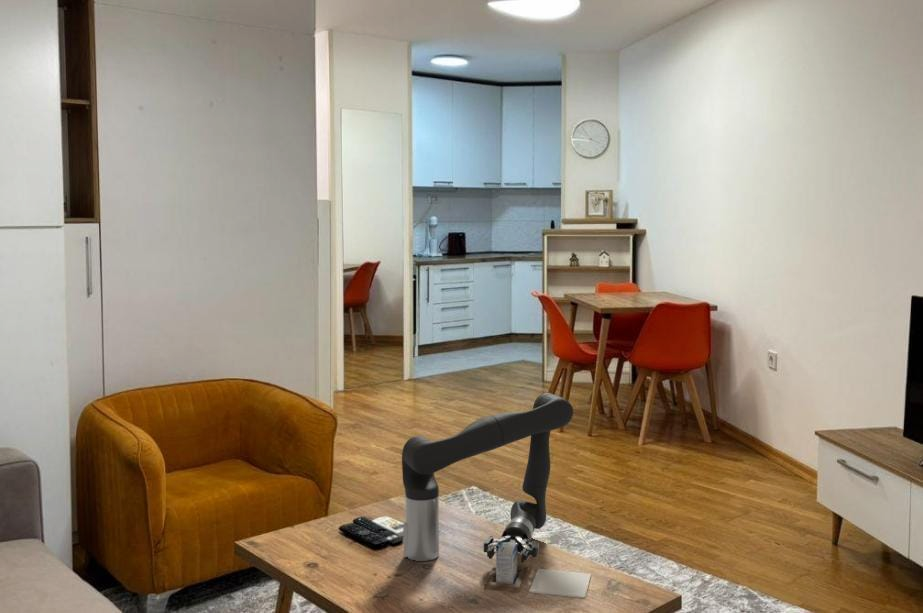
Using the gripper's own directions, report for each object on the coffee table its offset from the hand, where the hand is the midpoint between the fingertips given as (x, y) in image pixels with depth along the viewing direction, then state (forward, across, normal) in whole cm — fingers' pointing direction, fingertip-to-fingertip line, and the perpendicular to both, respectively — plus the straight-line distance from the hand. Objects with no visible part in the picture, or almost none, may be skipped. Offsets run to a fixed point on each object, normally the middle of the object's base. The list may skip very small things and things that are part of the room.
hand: (506, 556), depth 224 cm
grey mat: (-2, +14, +6) cm, 16 cm away
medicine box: (-1, 0, +7) cm, 7 cm away
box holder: (-1, 0, +6) cm, 7 cm away
